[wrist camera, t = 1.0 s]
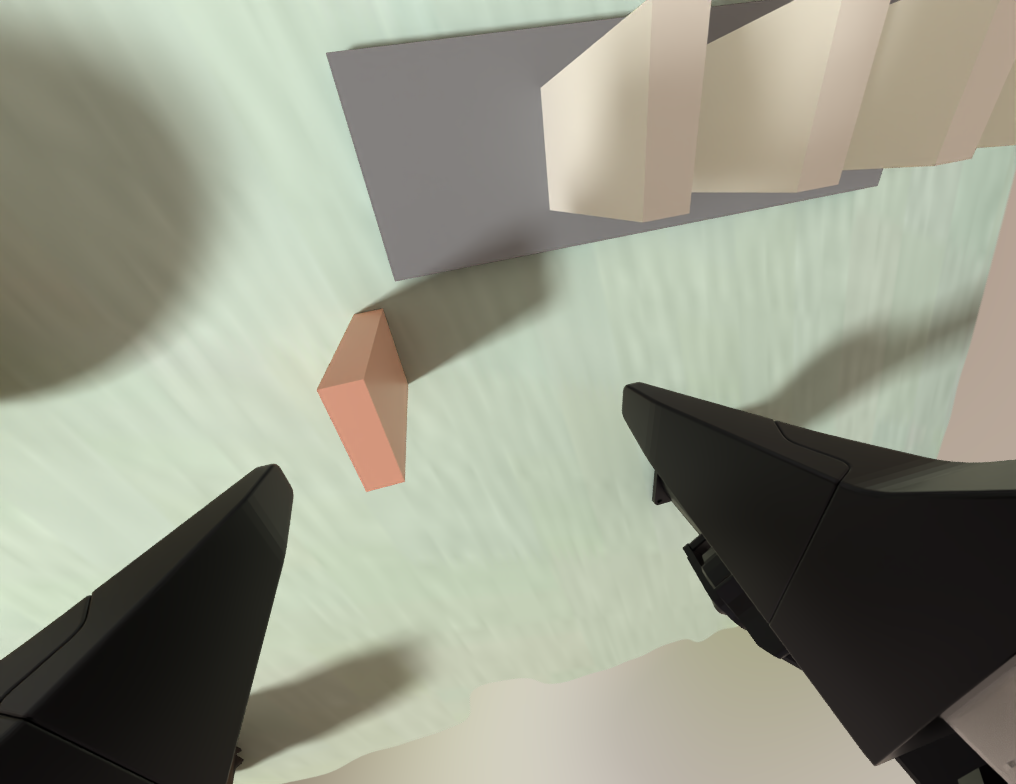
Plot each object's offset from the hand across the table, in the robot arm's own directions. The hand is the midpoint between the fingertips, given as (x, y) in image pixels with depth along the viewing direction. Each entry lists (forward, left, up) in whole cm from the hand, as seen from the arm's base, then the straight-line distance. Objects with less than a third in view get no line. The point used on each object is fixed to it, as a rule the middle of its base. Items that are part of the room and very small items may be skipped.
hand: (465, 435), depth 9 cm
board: (+6, -13, -13) cm, 20 cm away
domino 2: (+6, -13, -12) cm, 19 cm away
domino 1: (+6, -8, -12) cm, 16 cm away
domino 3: (+6, -19, -12) cm, 23 cm away
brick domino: (-2, +4, -13) cm, 14 cm away
